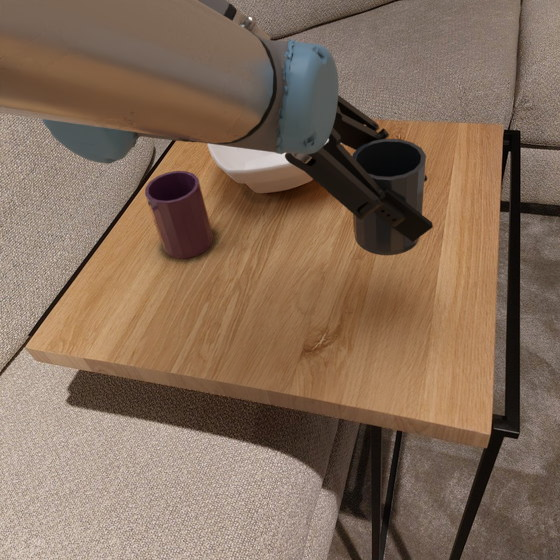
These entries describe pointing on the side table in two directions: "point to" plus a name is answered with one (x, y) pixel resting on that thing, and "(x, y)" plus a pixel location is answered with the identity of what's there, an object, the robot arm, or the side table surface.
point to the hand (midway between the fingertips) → (419, 207)
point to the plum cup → (179, 214)
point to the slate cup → (398, 178)
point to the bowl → (258, 168)
